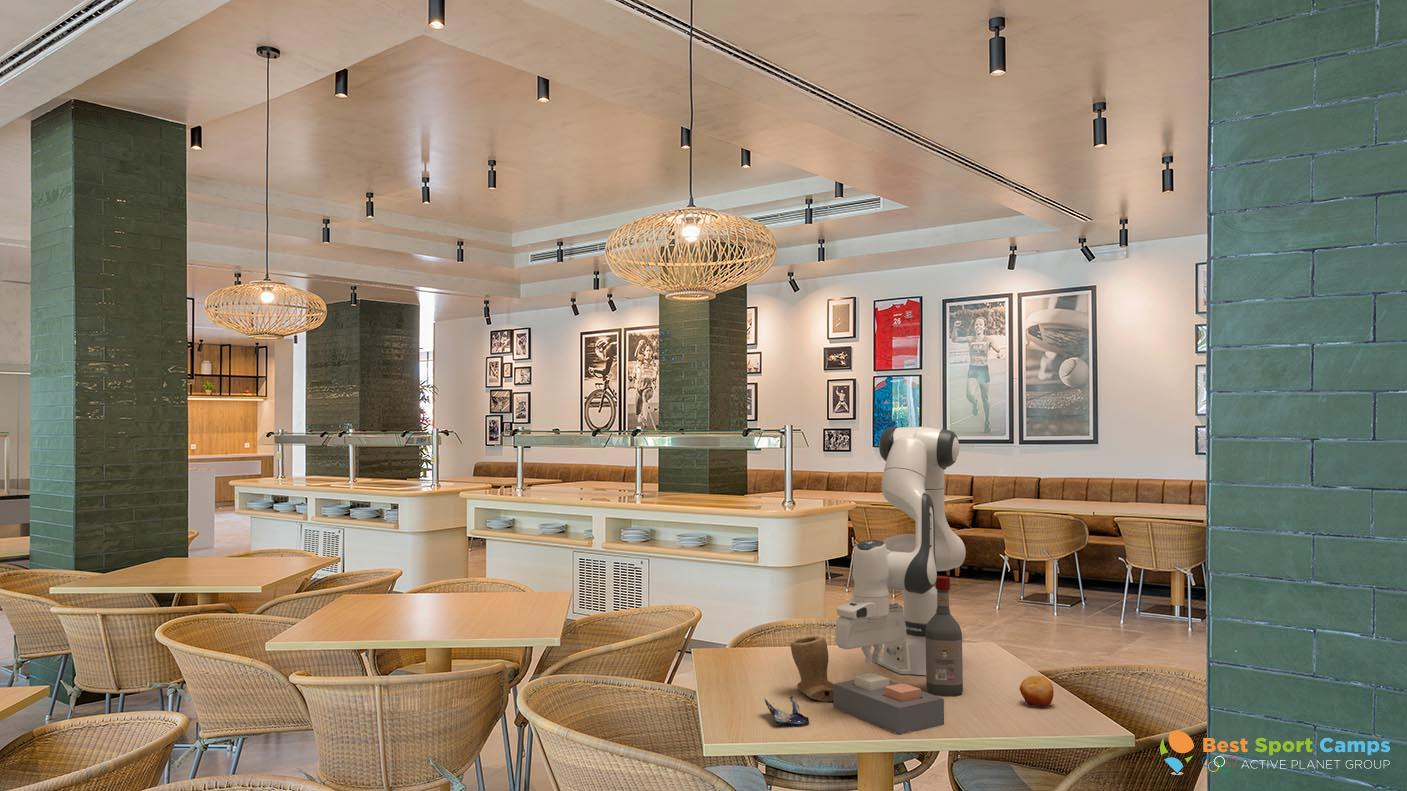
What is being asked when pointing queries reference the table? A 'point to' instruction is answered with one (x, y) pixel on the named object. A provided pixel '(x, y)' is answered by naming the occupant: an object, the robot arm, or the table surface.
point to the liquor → (943, 647)
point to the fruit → (1037, 691)
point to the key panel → (888, 708)
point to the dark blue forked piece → (793, 717)
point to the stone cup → (812, 667)
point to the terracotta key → (902, 692)
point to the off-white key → (871, 681)
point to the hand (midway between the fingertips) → (872, 662)
